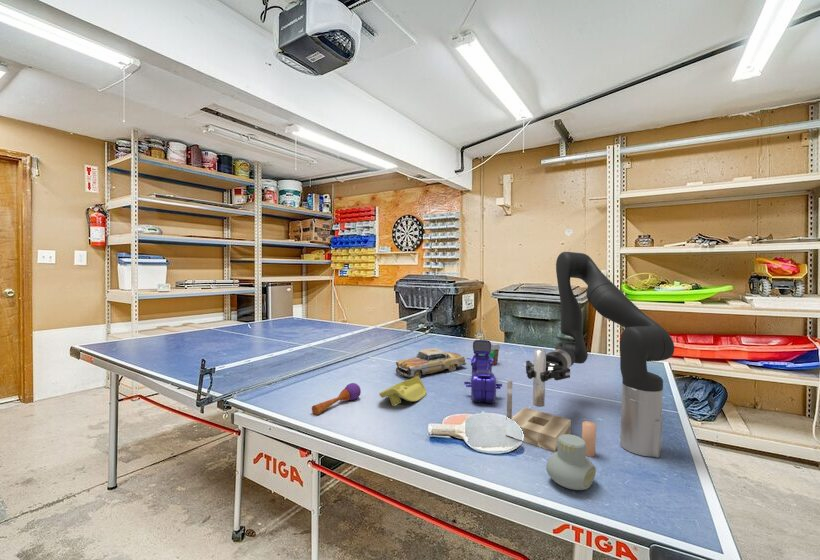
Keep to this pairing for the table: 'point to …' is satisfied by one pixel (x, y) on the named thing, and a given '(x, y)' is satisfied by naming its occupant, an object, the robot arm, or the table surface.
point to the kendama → (339, 398)
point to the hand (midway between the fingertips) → (535, 376)
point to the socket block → (538, 425)
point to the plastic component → (405, 391)
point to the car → (429, 363)
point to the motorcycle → (482, 374)
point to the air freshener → (571, 464)
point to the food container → (494, 353)
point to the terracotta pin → (589, 437)
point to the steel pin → (539, 377)
